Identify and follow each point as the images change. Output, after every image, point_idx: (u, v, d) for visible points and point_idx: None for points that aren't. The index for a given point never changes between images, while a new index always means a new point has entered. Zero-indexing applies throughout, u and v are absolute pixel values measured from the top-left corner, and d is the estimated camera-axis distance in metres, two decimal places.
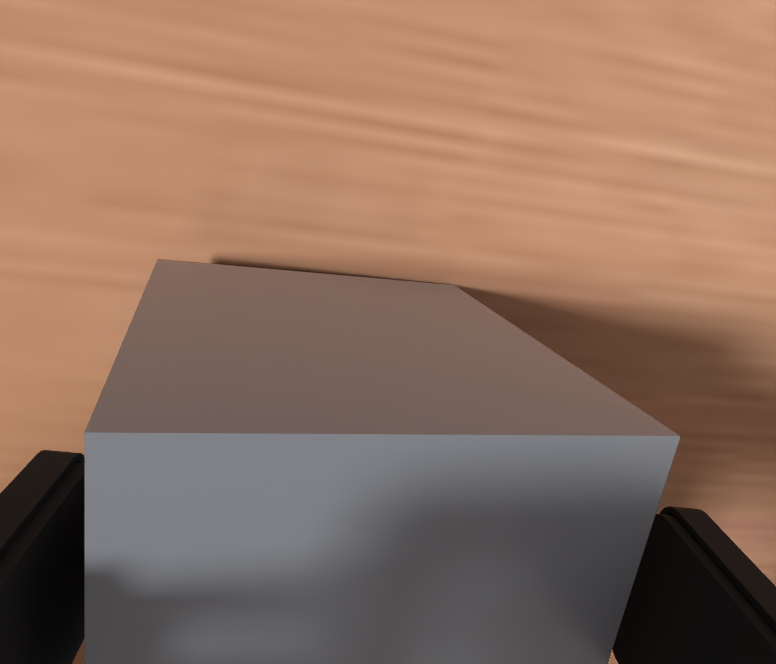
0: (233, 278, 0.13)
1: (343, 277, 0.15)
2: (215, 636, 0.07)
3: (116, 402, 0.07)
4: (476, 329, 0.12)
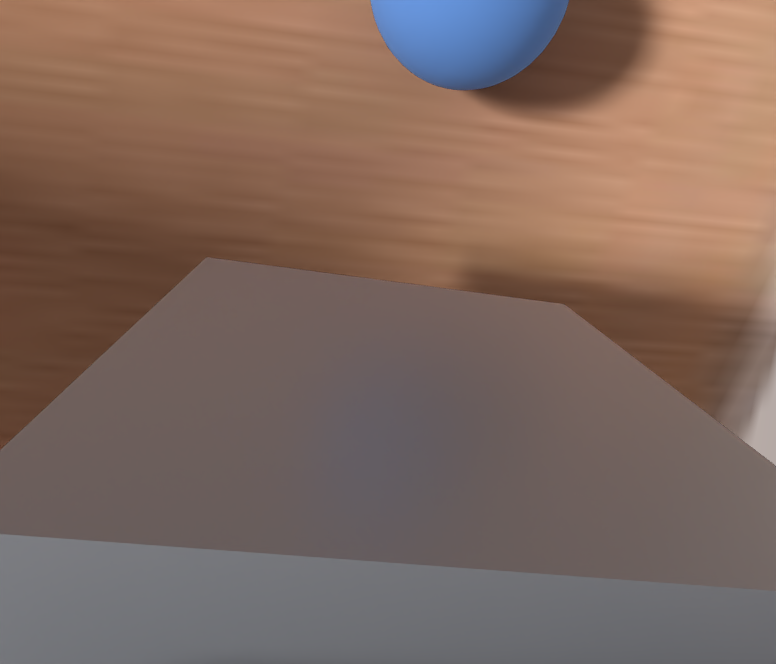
0: (285, 283, 0.11)
1: (423, 288, 0.12)
2: None
3: (10, 468, 0.05)
4: (589, 368, 0.09)
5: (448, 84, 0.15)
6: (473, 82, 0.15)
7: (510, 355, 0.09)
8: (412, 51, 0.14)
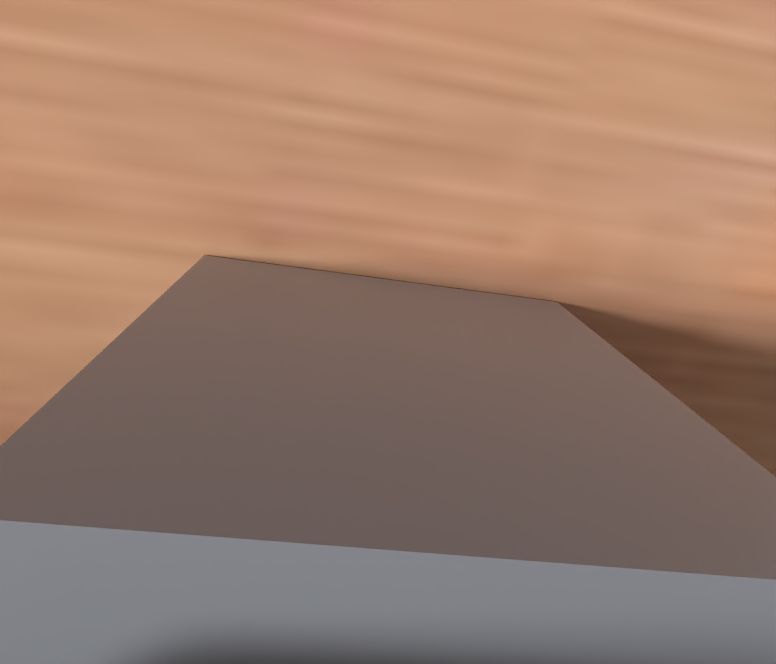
0: (281, 281, 0.11)
1: (418, 286, 0.13)
2: None
3: (14, 460, 0.05)
4: (577, 365, 0.09)
5: None
6: None
7: (501, 352, 0.09)
8: None
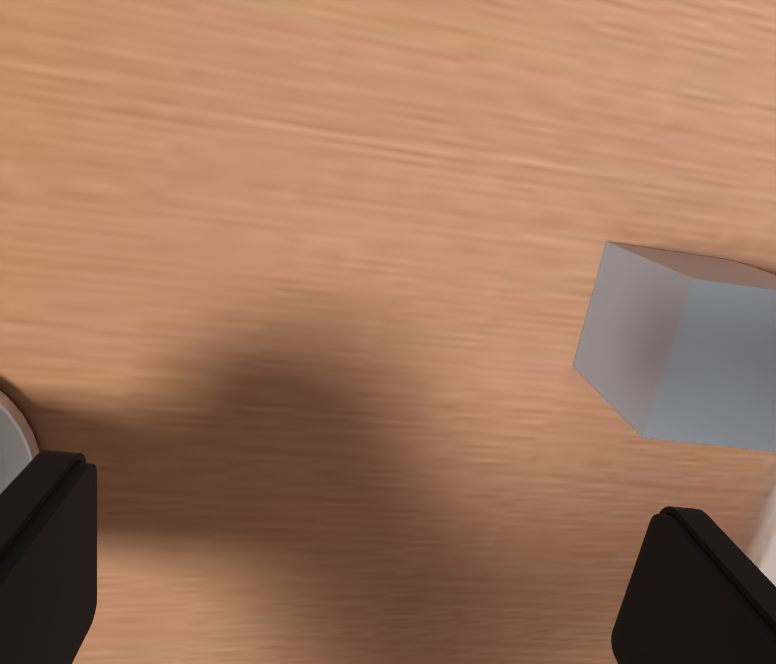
0: (646, 250, 0.33)
1: (682, 253, 0.34)
2: (704, 344, 0.26)
3: (688, 275, 0.26)
4: (760, 273, 0.31)
5: None
6: None
7: (736, 269, 0.31)
8: None
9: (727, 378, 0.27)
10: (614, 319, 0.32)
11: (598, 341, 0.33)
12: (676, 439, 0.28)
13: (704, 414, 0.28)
